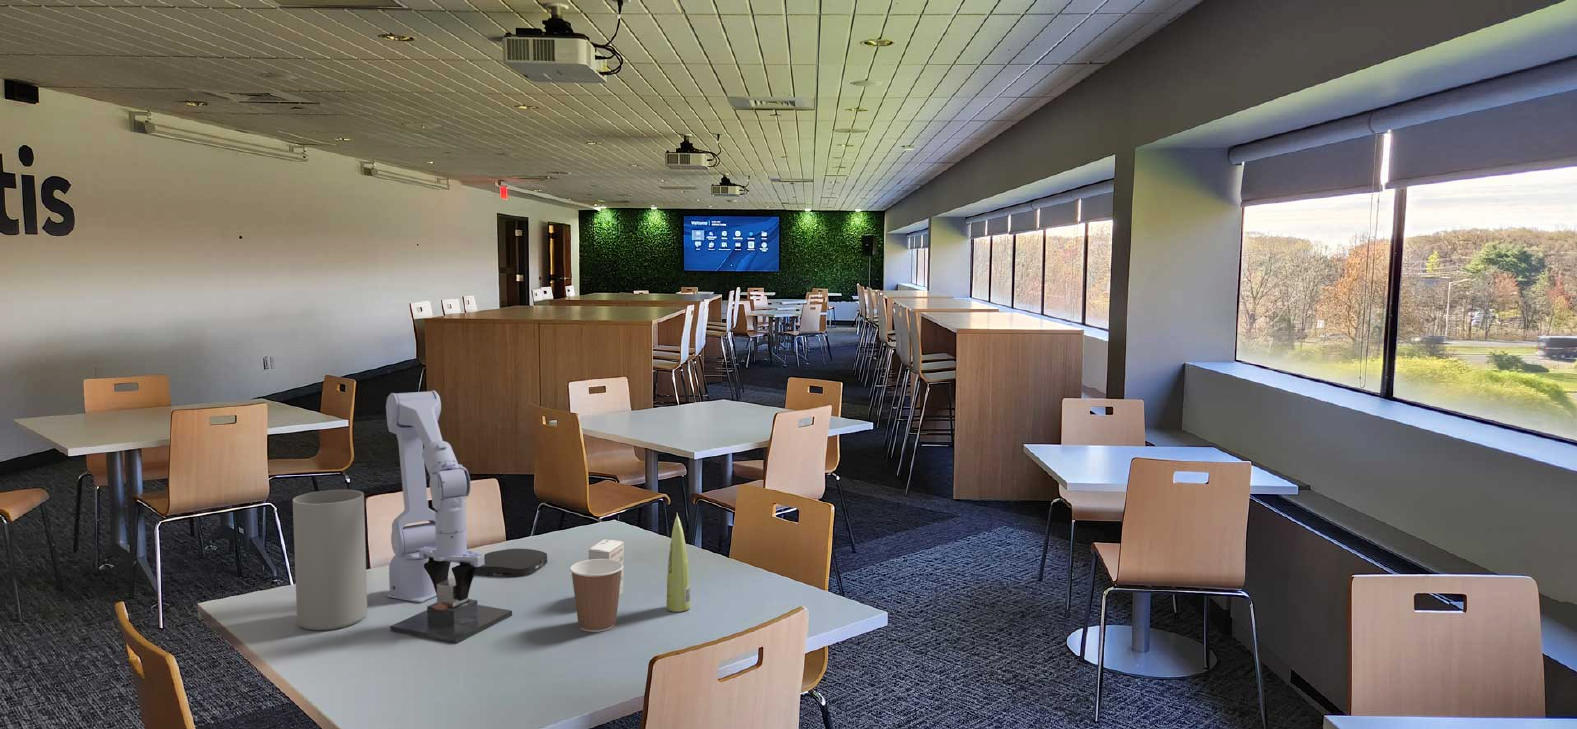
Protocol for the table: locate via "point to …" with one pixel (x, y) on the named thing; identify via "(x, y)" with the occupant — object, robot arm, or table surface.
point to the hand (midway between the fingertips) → (452, 597)
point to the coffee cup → (596, 593)
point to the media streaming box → (512, 563)
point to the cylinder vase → (330, 559)
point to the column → (449, 594)
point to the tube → (678, 572)
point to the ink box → (609, 553)
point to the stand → (451, 621)
